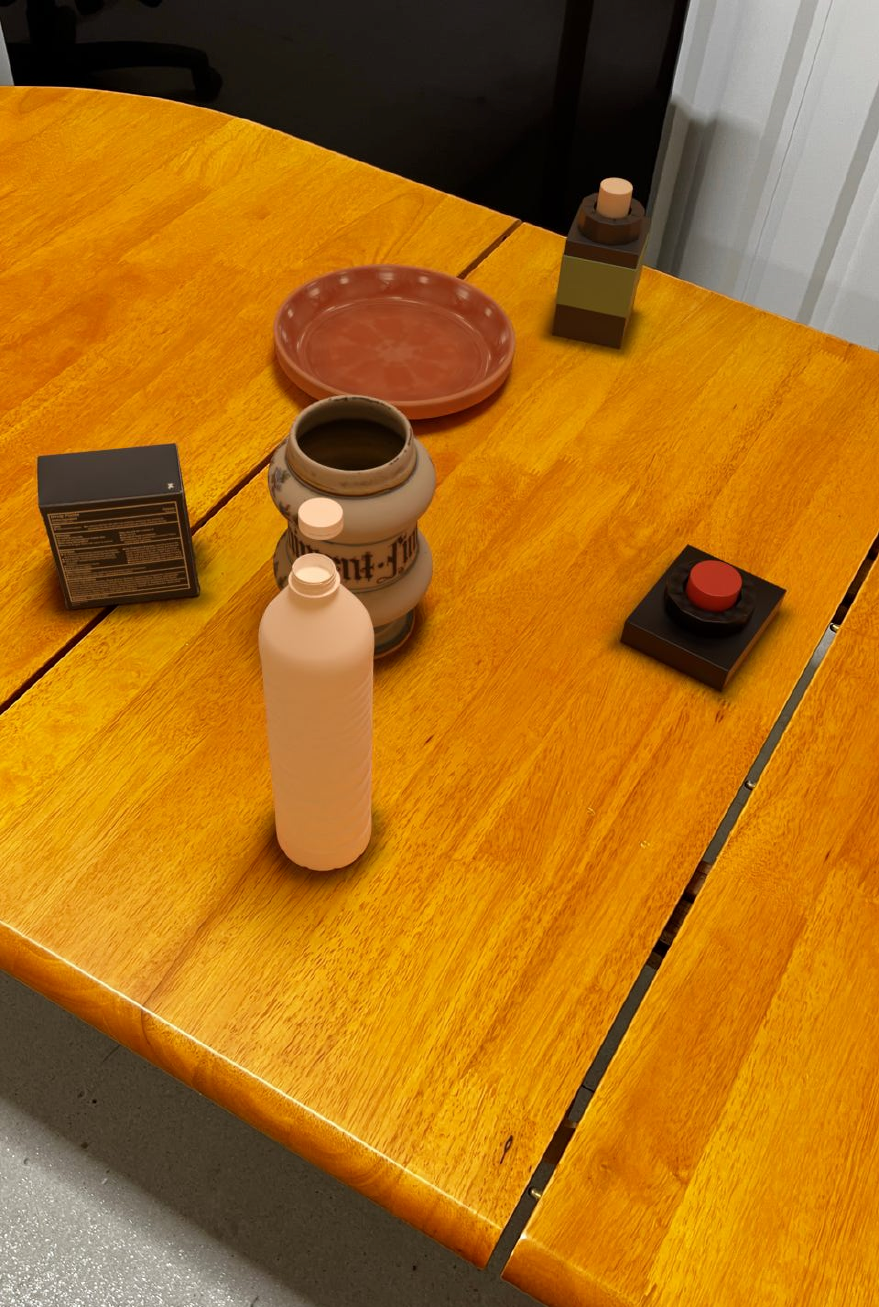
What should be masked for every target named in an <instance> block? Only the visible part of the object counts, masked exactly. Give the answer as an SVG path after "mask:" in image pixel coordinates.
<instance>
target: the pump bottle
mask: <svg viewBox="0 0 879 1307" xmlns="http://www.w3.org/2000/svg"><path fill="white" fill-rule="evenodd" d="M598 196H599V192H594V193H592V194H590V195H588V196H585V197H584V198H583V199H582V202H581V204H580V205H579V207H578V209H577V212H576V215H575V217H574V219H573V221H572V224H571V227H570V228H569V231H568V234H567V236H566V238H565V242H564V248H563V249H564V250H563V253H564V255H566V256H571V257H576V258H581V259H586V260H591V261H596V262H601V263H606V264H611V265H616V266H620V267H625V268H630V269H636V268H637V265H638V262H639V259H640V256H641V253H642V250H643V247H644V244H645V241H646V238H647V235H648V233H650V232H649V231H650V227H651V221H652V218H651V217H649V216H648V217H647V216H645V212H646V209H645V208H644V206H643V205H642V204H641V202H640V201H638V200H637V199H635V198H633V197H631V201H630V206H629V211H628V215H627V216H626V217H624V218H609V217H604V216H603V215H601V214H599V213H597V211H596V208H597V202H598ZM637 290H638V289H637ZM637 290H636V293H635V296H634V299H633V302H632V305H631V308H630V311H629V314H628V317H627V318H624V317H619V316H614V315H610V314H605V313H600V312H595V311H590V310H586V309H581V308H576V307H571V306H566V305H561V304H557V303H556V302H555V310H554V317H553V324H552V329H551V335H552V336H555V337H559V338H565V339H568V340H573V341H579V342H584V343H588V344H594V345H598V346H602V347H607V348H611V349H617V350H621V347H622V344H623V342H624V340H625V336H626V332H627V329H628V326H629V323H630V320H631V317H632V314H633V310H634V305H635V300H636V296H637Z"/></svg>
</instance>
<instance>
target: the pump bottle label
mask: <svg viewBox="0 0 879 1307" xmlns="http://www.w3.org/2000/svg"><path fill="white" fill-rule="evenodd" d="M649 237H650V232H648V235H647V238H646V241H645V244H644V247H643V250H642V253H641V256H640V259H639V262H638V265H637V268H636V269H630V268H625V267H620V266H616V265H611V264H606V263H601V262H596V261H591V260H586V259H581V258H576V257H571V256H566V255H564V252H563V253H562V255H561V261H560V267H559V268H560V269H559V276H558V281H557V282H558V283H557V288H556V296H555V304H556V303H557V304H561V305H566V306H571V307H576V308H581V309H586V310H590V311H595V312H600V313H605V314H610V315H614V316H619V317H624V318H627V317H628V314H629V311H630V308H631V305H632V302H633V299H634V296H635V293H636V294H637V291H636V290H638V286H639V283H640V281H641V276H642V271H643V267H644V262H645V257H646V253H647V248H648V247H647V246H648V242H649ZM635 297H636V296H635Z"/></svg>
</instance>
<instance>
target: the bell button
mask: <svg viewBox="0 0 879 1307" xmlns="http://www.w3.org/2000/svg"><path fill="white" fill-rule="evenodd" d="M741 585H742V580H741V576H740V575H739V573H738V572H737V571H736V570H735V569H734V568H733V567H732V566H730V565H728V564H726V563H723V562H720V561H712V560H711V561H703V562H700V563H698V564H697V565H695V566H694V567H693V569H692V570H691V573H690V576H689V580H688V583H687V586H686V595H687V597H688V599H689V600H690V601H691V603H692V604H694V605H696V606H698V607H700V608H702V609H704V610H706V611H716V612H722V611H726V610H728V609H730V608H731V607H732V606H733V605H734V604H735V602H736V600H737V597H738V594H739V591H740V588H741Z"/></svg>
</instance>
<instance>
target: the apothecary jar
mask: <svg viewBox="0 0 879 1307" xmlns="http://www.w3.org/2000/svg"><path fill="white" fill-rule="evenodd" d="M288 433H289V434H288V435H286V437H285V438H284V439H283V440H282V441H281V442H280V443H279V444H278V446H277V447H276V449H275V451H274V453H273V454H272V455H271V459H270V461H269V465H268V468H267V469H268V470H267V487H268V491H269V492H268V493H269V495H270V498H271V501H272V502H273V504H274V506H275V508H276V509H277V510H278V512H279V513H280V514H281V516H283V518H284V519H285V520H287V528H286V529H285V530H284V531H283V533H282V534H281V535H280V538H278V541H277V544H276V546H275V549H274V552H273V559H272V569H273V575H274V579H275V583H276V585H277V587H278V589H279V591H280V592H281V591H282V590H283V589H284V588H286V587H287V586H288V585H289V582H288V578H289V575H290V573H291V571H292V569H293V568H292V566H293V564H294V562H295V561H296V560H297V559H298V558H299V557H301V556H303V555H306V554H312V553H316V554H322V555H325V556H327V557H329V558H330V559H331V560H332V561H333V563H334V564H335V567H336V570H337V572H338V573H339V576H340V584H342V585H343V586H344V587H345V588H346V589H347V590H349V591H350V592H351V593H352V594H353V595H354V596H356V597H357V598H358V599H359V600H360V602H361V603H362V604H363V605H364V607H365V608H366V609H367V611H368V613H369V615H370V619H371V622H372V625H373V630H374V654H373V661H374V660H377V659H382V658H384V657H386V656H388V655H390V654H392V653H394V652H396V651H397V650H398V649H399V648H401V647H402V646H403V645H404V644H405V643H406V642H407V641H408V639H409V638H410V636H411V634H412V632H413V630H414V626H415V621H416V619H415V618H416V613H415V607H416V606H417V605H418V604H419V603H420V602H421V601H422V600H423V598H424V596H425V595H426V593H427V592H428V589H429V587H430V585H431V582H432V578H433V572H434V560H433V554H432V551H431V547H430V544H429V543H428V541H427V539H426V537H425V535H424V534H423V533H422V532H421V530H420V529H419V528H418V527H419V526H418V523H419V522H418V521H419V519H421V517H423V515H424V514H425V513H426V512H427V510H428V509H429V507H430V505H431V504H432V503H433V502H432V501H433V499H434V497H435V493H436V489H437V488H436V487H437V473H436V469H435V468H436V467H435V465H434V462H433V459H432V456H431V455H430V453H429V451H428V449H427V448H426V447H425V446H424V445H423V443H422V442H421V441H420V440H419V439H418V438H417V437H416V436H415V435H414V431H413V427H412V425H411V422H410V421H409V420H408V419H407V418H406V416H405V415H404V414H403V413H402V412H401V411H399V410H398V409H397V408H395V407H394V406H392V405H391V404H389V403H387V402H385V401H382V400H379V399H376V398H372V397H368V396H361V395H341V396H335V397H330V398H327V399H324V400H321V401H319V400H317V401H315V402H314V403H312V404H310V405H309V406H307V407H305V408H304V409H303V410H301V411H300V413H298V414H297V415H296V417H295V418H294V419H293V421H292V424H291V426H290V429H289V432H288ZM314 498H327V499H331V500H333V501H335V502H337V503H338V504H339V505H340V506H341V508H342V510H343V529H342V531H341V532H340V533H339V534H338V535H337V536H335V537H333V538H331V539H327V540H315V539H311V538H309V537H307V536H305V535H304V534H303V533H302V532H301V531H300V529H299V523H298V510H299V508H300V506H301V505H302V504H303V503H304V502H306V501H308V500H310V499H314ZM308 534H309V533H308ZM311 535H312V534H311ZM330 535H331V534H330ZM316 536H317V535H316ZM325 536H327V535H325Z"/></svg>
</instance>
